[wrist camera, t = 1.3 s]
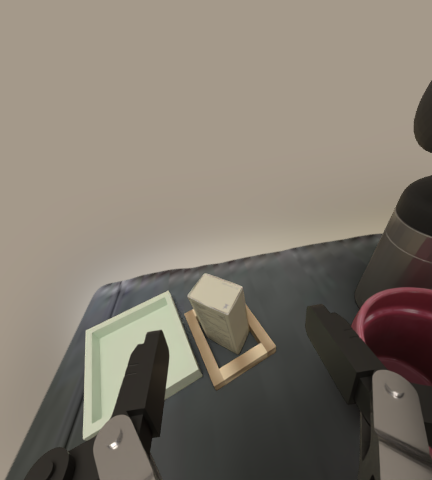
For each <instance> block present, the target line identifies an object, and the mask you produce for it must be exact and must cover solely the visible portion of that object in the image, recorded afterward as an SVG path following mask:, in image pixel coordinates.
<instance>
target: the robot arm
mask: <svg viewBox="0 0 432 480" xmlns="http://www.w3.org/2000/svg"><path fill="white" fill-rule="evenodd" d="M414 134H415V138H416V140H417V142H418V144H419V145H420V146H421V147H422V148H423V149H425V150H426V151H428V152H430V153H432V81H431V82H430V84H429V86H428V87H427V89H426V91H425V93H424V95H423V97H422V99H421V101H420V103H419V106H418V108H417V111H416V115H415V119H414ZM400 287H414V288H424V289H431V290H432V175H431V176H428V177H424V178H422V179H419V180H417V181H415V182H413V183H412V184H410V185H409V186H408V187H407V188H406V189H405V190H404V192H403V193H402V195H401V197H400V199H399V201H398V203H397V205H396V208H395V210H394V212H393V214H392V216H391V218H390V220H389V222H388V224H387V226H386V228H385V230H384V233H383V235H382V237H381V239H380V241H379V243H378V245H377V247H376V249H375V251H374V253H373V255H372V257H371V259H370V261H369V264H368V266H367V268H366V270H365V272H364V274H363V276H362V278H361V280H360V282H359V284H358V286H357V288H356V291H355V300H356V303H357V305H358V307H359V308H361V306H362V305H363V304H364V303H365V301H366V300H367V299H369V298H370V297H371V296H373V295H374V294H376V293H378V292H381V291H384V290H387V289H392V288H400ZM305 328H306V332H307V335H308V337H309V339H310V341H311V342H312V344H313V346H314V348H315V349H316V351H317V353H318V355H319V356H320V358H321V360H322V361H323V363H324V365H325V367H326V368H327V370H328V372H329V374H330V375H331V377H332V379H333V380H334V382H335V384H336V386H337V387H338V389H339V391H340V393H341V394H342V396H343V398H344V399H345V401H346V403H347V405H349V404H354V403H356V404H357V405H358V407H359V409H360V410H361V411H360V461H359V471H358V478H357V480H432V458H431V455H430V451H429V447H431V449H432V386H427V385H421V384H415V383H411V382H408V381H407V380H406V379H405V378H403V377H402V376H400V375H399V374H397V373H395V372H392V371H389V370H388V369H387V368H386V367H385V366H384V365H383V364H382V362H381V361H380V360H379V359H378V358H377V356H376V355H375V354H374V353H373V352H372V351H371V349H370V348H369V347H368V346H367V345H366V343H365V342H364V341H363V340H362V339H361V338H360V337H359V335H358V334H357V333H356V332H355V330H353V328H352V327H351V326H350V325H349V323H348V322H347V321H346V320H345V319H344V318H342V317H341V316H339V315H338V314H336V313H330V312H329V311H328V310H327V308H326V307H325V306H324V305H323V304H319V305H313V306H308V307H307V313H306V324H305ZM168 367H169V348H168V345H167V342H166V339H165V336H164V333H163V331H162V330H156V331H150V332H147V334H146V337H145V341H144V343H143V344H138V345H137V346H136V348H135V349H134V350H133V352H132V353H131V355H130V359H129V362H128V367H127V368H126V372H125V376H124V378H123V381H122V384H121V388H120V391H119V394H118V397H117V401H116V404H115V407H114V410H113V413H112V416H111V418H110V420H109V421H107V422H106V423H105V424H104V426H103V427H102V428H101V429H100V431H99V433H98V434H97V435H96V436H94V437H93V438H91V439H90V440H88V441H86V442H84V443H83V444H81V445H79V446H77V447H75V448H74V449H72V450H70V451H67V450H66V449H65V448H62V447H58V448H54V449H52V450H50V451H48V452H47V453H45V454H44V455H43V456H42V457H41V458H40V459H38V460H37V462H36V463H35V464H34V465H33V466H32V468H31V469H30V470H29V472H28V474H27V475H26V477H25V479H24V480H163V479H162V477H161V475H160V473H159V470H158V468H157V466H156V464H155V462H154V459H153V457H152V455H151V453H150V448H151V442H152V438H155V437H160V431H161V423H162V415H163V407H164V399H165V391H166V383H167V375H168Z"/></svg>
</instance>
